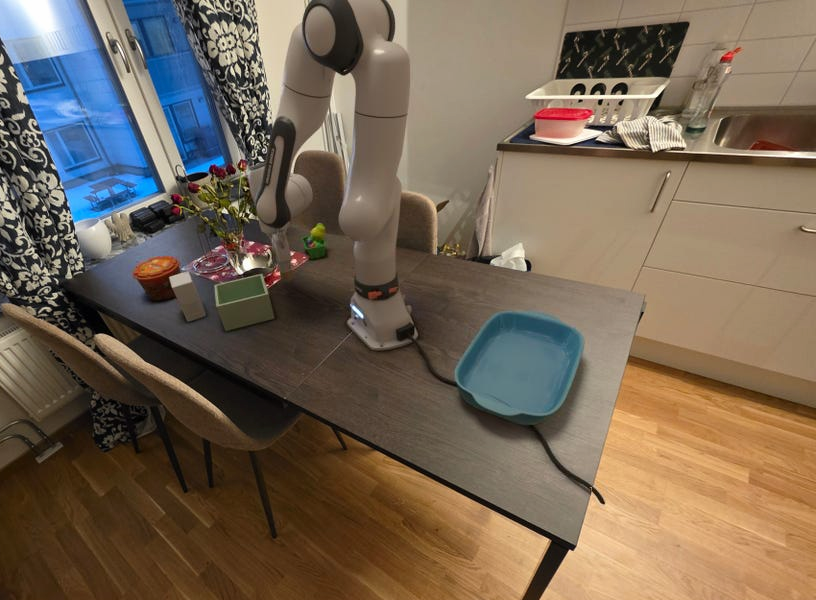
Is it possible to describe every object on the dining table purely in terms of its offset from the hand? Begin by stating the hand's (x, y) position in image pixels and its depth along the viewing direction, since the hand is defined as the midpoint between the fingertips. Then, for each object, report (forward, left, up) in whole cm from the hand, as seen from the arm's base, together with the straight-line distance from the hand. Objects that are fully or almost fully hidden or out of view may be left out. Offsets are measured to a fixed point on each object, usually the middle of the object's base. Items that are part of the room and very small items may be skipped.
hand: (284, 264), depth 124 cm
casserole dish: (-62, -43, -11) cm, 76 cm away
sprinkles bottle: (0, 0, -5) cm, 5 cm away
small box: (+2, +32, -11) cm, 34 cm away
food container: (+22, +42, -11) cm, 49 cm away
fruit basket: (+25, -16, -11) cm, 32 cm away
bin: (-6, +15, -11) cm, 20 cm away
